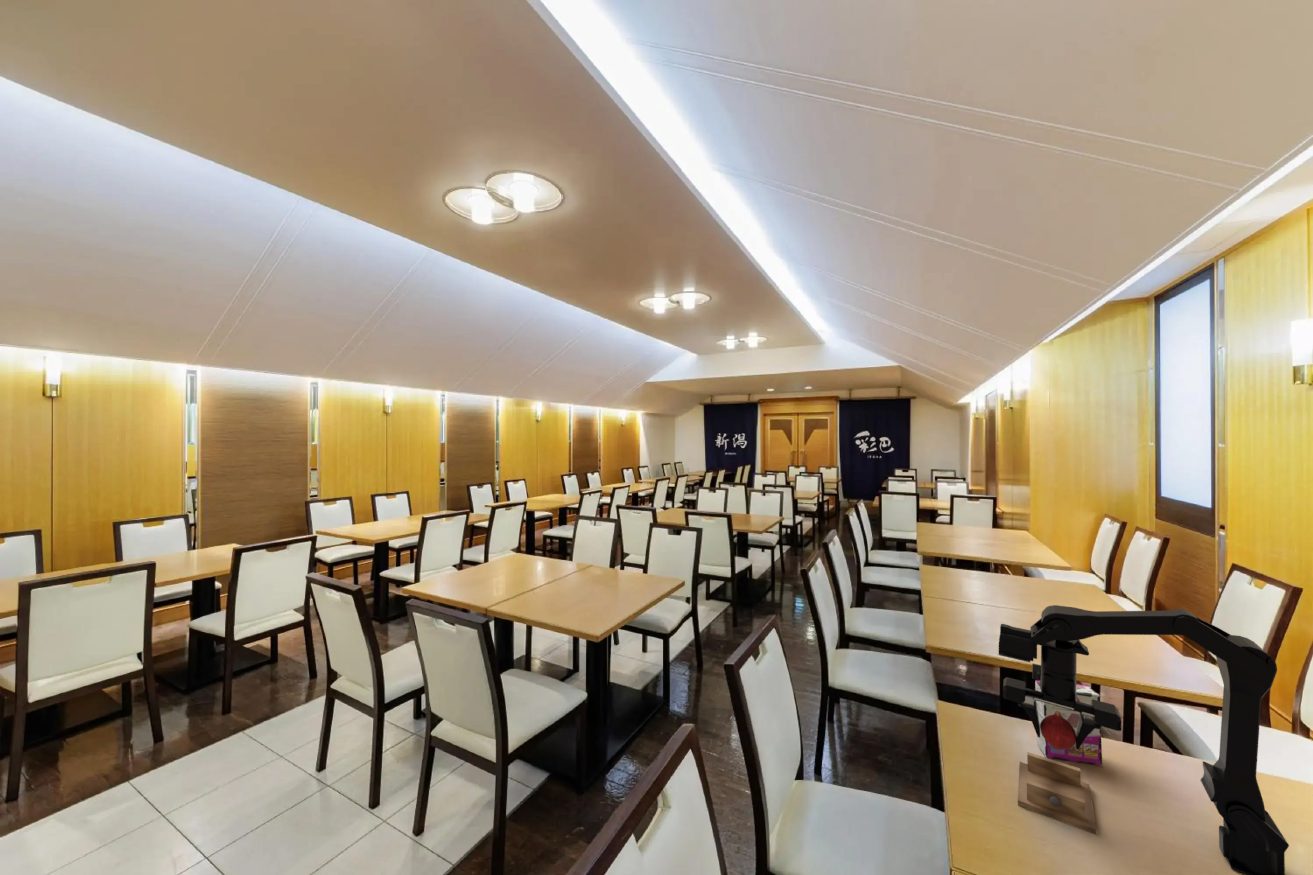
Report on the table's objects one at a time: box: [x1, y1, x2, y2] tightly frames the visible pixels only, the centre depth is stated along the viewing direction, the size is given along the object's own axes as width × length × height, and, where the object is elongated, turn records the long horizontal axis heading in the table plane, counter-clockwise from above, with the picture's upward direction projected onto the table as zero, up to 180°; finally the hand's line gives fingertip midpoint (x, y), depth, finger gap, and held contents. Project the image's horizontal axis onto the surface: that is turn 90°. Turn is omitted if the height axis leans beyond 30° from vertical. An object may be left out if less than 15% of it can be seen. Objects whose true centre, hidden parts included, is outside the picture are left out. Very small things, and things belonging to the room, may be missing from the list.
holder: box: [1017, 751, 1097, 835], centre depth 101 cm, size 12×15×4 cm
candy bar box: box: [1034, 680, 1103, 766], centre depth 114 cm, size 11×5×16 cm, turn 73°
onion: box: [1040, 711, 1076, 750], centre depth 100 cm, size 6×6×8 cm
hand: (1057, 741), depth 100 cm, fingers closed on onion, 6 cm apart
